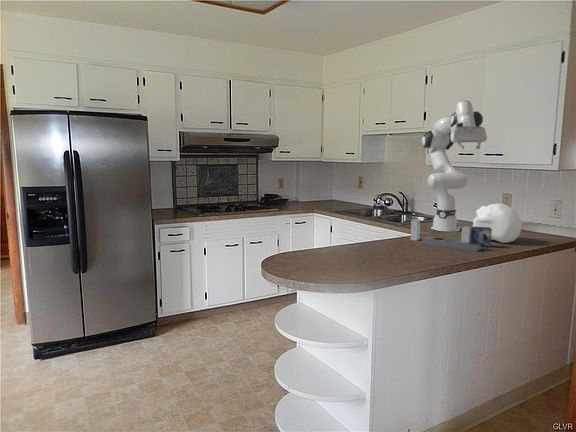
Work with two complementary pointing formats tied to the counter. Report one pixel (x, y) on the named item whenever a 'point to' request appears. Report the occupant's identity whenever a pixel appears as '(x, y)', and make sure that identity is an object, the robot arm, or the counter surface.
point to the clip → (415, 229)
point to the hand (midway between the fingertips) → (470, 148)
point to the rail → (455, 241)
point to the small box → (481, 235)
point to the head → (499, 222)
